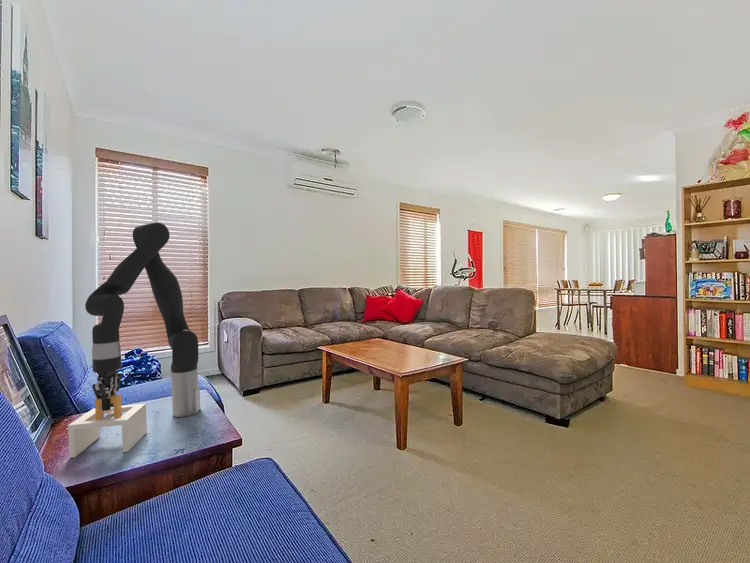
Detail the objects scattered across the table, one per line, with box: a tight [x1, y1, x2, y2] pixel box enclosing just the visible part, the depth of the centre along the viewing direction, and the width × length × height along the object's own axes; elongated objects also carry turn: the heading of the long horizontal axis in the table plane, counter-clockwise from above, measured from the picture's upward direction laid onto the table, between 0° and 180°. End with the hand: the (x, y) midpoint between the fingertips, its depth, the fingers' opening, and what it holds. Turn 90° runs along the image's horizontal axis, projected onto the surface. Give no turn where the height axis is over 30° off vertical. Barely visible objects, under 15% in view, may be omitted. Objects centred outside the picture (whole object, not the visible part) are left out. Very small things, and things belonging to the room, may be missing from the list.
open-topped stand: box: [67, 403, 148, 459], centre depth 118 cm, size 16×14×10 cm
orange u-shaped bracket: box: [94, 394, 123, 420], centre depth 118 cm, size 6×2×8 cm, turn 101°
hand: (108, 408), depth 118 cm, fingers closed on orange u-shaped bracket, 2 cm apart
